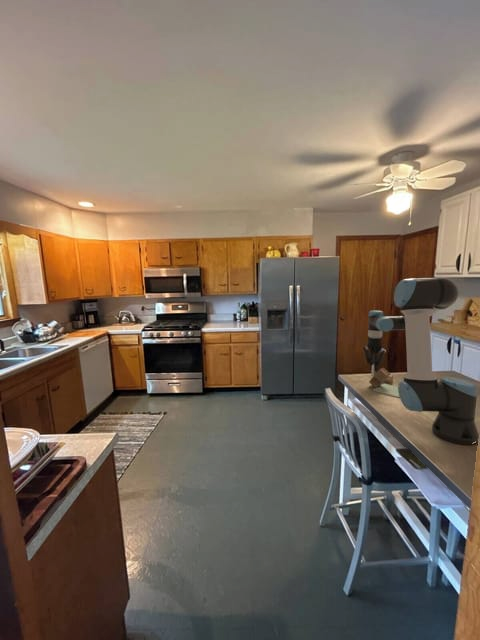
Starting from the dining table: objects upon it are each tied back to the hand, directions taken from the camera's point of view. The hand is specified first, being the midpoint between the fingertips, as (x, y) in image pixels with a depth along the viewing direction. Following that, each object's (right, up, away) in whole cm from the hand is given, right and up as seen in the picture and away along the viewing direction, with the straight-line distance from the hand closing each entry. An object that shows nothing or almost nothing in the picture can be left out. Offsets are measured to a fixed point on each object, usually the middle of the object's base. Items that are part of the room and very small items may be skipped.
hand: (373, 375), depth 168 cm
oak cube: (+12, -5, +6) cm, 14 cm away
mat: (+7, -7, -7) cm, 12 cm away
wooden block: (+1, -5, 0) cm, 5 cm away
